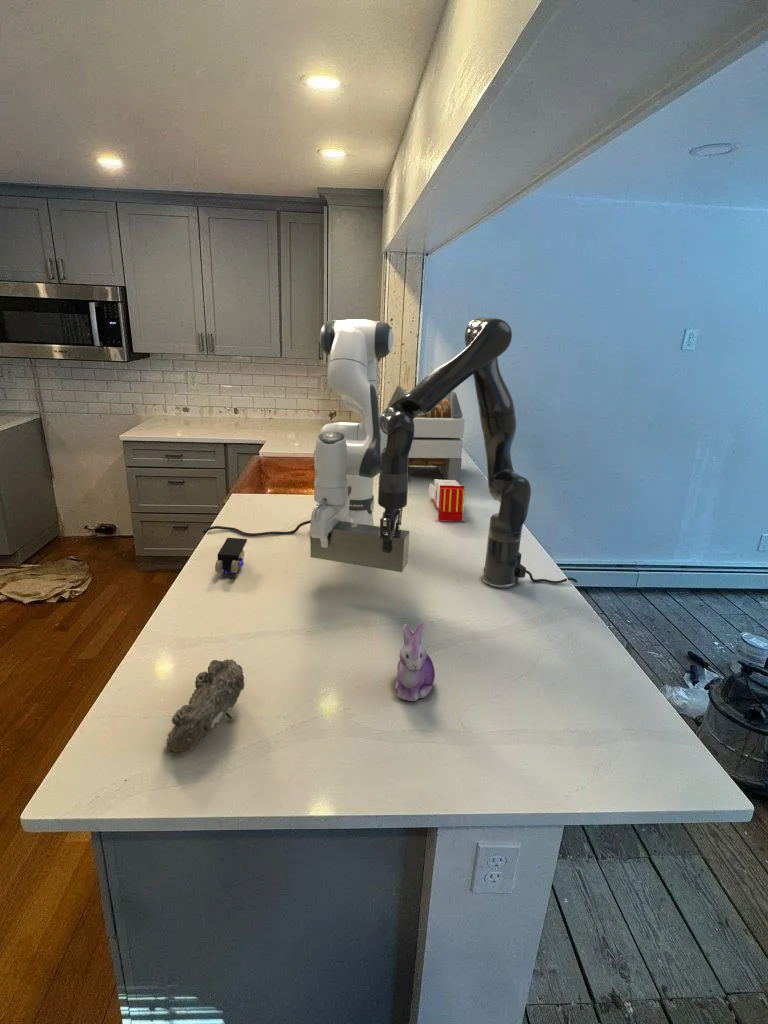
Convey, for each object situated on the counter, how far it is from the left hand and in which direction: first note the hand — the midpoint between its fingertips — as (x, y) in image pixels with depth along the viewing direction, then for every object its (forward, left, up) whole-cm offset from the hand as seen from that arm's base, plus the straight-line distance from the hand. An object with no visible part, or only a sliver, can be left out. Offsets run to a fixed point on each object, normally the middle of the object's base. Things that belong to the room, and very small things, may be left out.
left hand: (330, 541), depth 156 cm
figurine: (+33, -37, -14) cm, 52 cm away
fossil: (-1, -58, -14) cm, 60 cm away
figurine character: (-30, 0, -14) cm, 33 cm away
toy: (+19, +78, -14) cm, 81 cm away
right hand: (+17, 0, +1) cm, 17 cm away
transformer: (-2, +125, -14) cm, 126 cm away
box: (+9, 0, -4) cm, 9 cm away
